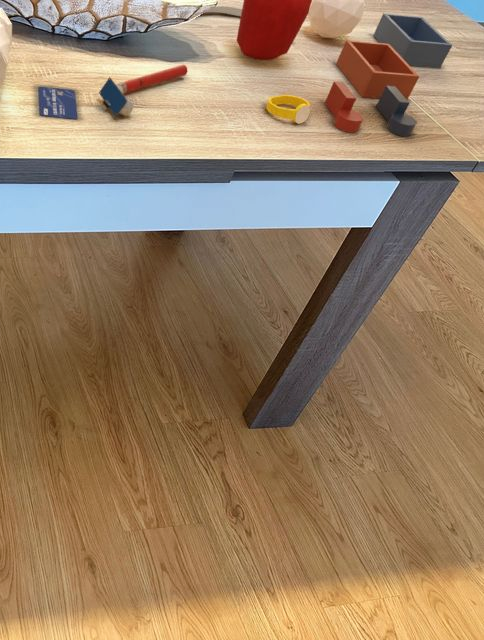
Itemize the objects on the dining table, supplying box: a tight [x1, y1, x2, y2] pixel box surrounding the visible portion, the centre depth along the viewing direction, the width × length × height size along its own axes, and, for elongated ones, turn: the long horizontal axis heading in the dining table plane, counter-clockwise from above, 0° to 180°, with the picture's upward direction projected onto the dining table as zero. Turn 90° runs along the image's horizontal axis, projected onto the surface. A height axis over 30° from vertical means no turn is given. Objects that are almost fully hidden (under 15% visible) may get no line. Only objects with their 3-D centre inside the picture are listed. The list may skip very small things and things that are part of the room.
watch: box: [265, 93, 311, 125], centre depth 110 cm, size 6×3×6 cm
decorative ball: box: [307, 0, 366, 39], centre depth 131 cm, size 9×10×12 cm
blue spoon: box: [375, 86, 418, 137], centre depth 112 cm, size 9×4×4 cm, turn 4°
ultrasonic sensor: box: [98, 76, 134, 118], centre depth 105 cm, size 6×2×3 cm, turn 20°
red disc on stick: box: [324, 81, 364, 133], centre depth 111 cm, size 9×4×4 cm, turn 4°
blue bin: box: [372, 13, 453, 69], centre depth 132 cm, size 12×8×4 cm, turn 4°
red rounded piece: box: [236, 0, 313, 61], centre depth 120 cm, size 11×10×14 cm
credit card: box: [37, 86, 79, 120], centre depth 105 cm, size 8×5×1 cm, turn 0°
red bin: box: [335, 39, 420, 100], centre depth 121 cm, size 12×8×4 cm, turn 4°
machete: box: [202, 6, 242, 17], centre depth 134 cm, size 26×2×5 cm
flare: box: [115, 64, 188, 95], centre depth 111 cm, size 2×15×2 cm
